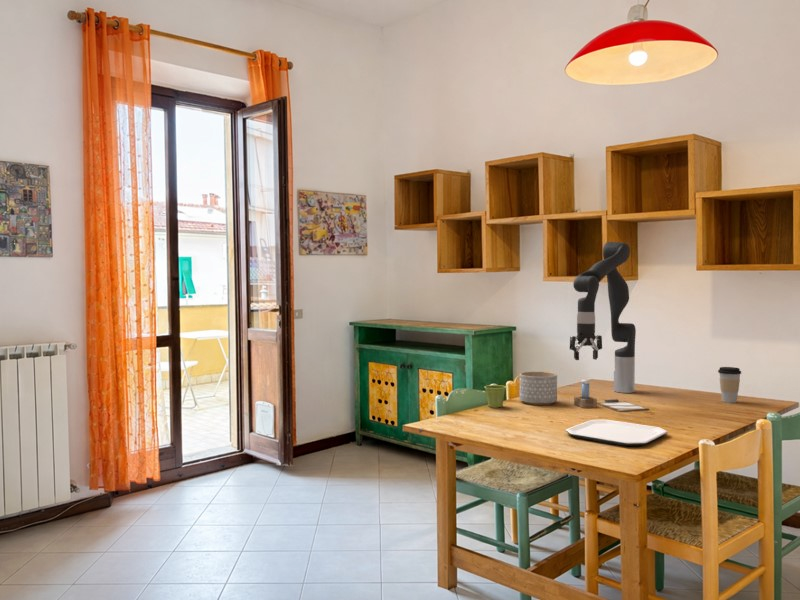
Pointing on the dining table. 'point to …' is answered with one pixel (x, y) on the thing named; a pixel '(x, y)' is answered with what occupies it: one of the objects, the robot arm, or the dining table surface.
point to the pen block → (585, 402)
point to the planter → (538, 388)
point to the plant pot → (495, 395)
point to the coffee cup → (729, 383)
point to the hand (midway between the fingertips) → (585, 359)
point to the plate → (616, 432)
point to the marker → (585, 389)
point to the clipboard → (621, 405)
